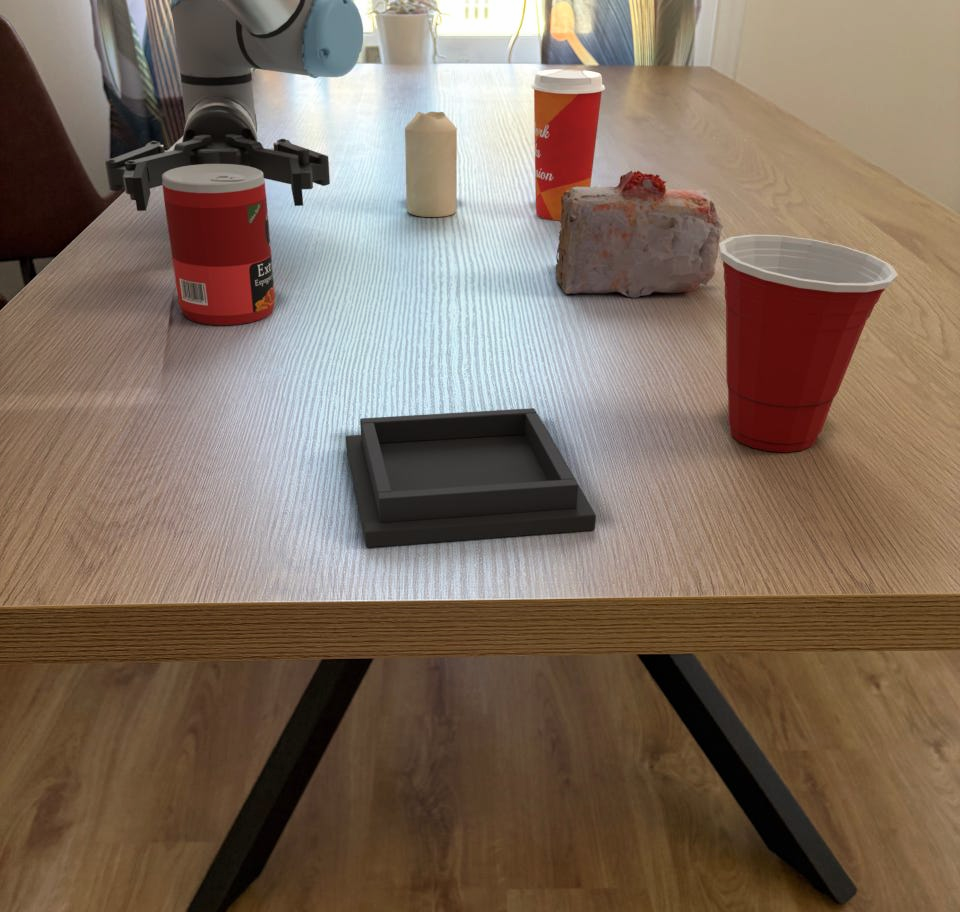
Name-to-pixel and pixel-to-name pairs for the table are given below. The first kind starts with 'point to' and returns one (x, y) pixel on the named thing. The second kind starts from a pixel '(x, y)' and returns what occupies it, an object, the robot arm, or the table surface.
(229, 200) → the canned food
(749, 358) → the plastic cup
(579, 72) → the paper cup
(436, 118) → the candle
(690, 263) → the food item
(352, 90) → the table surface
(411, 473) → the base pad
